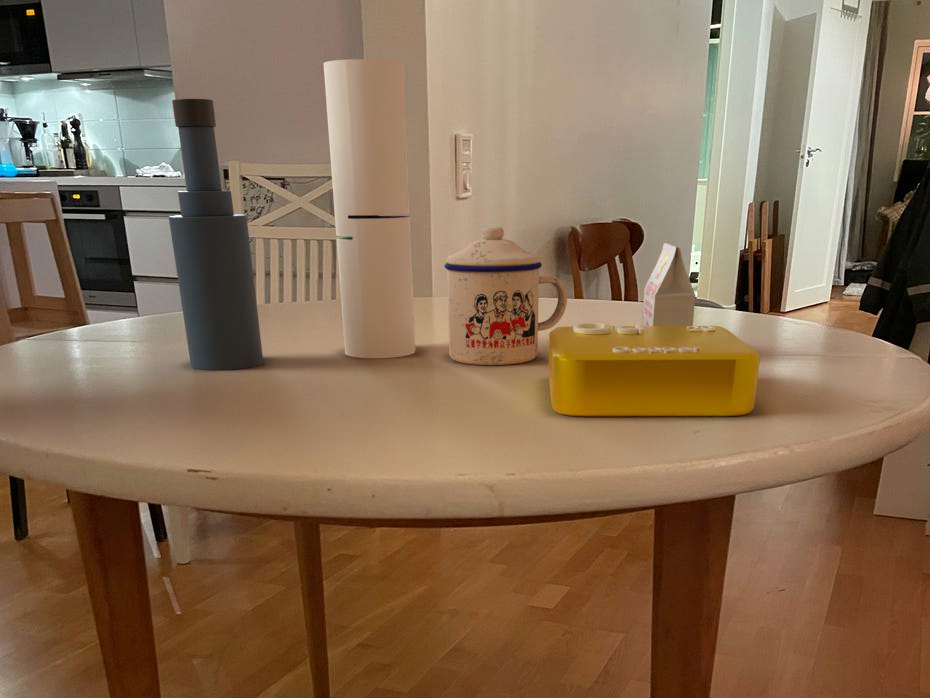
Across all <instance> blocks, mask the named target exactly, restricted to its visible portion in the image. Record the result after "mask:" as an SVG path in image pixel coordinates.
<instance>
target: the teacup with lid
mask: <svg viewBox="0 0 930 698" xmlns="http://www.w3.org/2000/svg"><path fill="white" fill-rule="evenodd" d="M504 233H505V231H504V228H503V227H501V226H485V227H484V228H482V231H481V237H482V238H483V239H477V240H475V241H471V243H469V244H468V245H467V246H466V247H464V248H463V249H462V250H460V251H457V252H456V253H453V254H450V255H449V256H447V257H446V259H445V264H444V269H446V279H447V314H448V317H447V321H448V354H449V357H450V358H451V360H453V361H454V362H458V363H461V364H465V365H466V364H467V365H475V366H506V365H515V364H516V365H518V364H524V363H527V362H530V361H533V360H534V359H535V358H537V356H538V353H539V351H538V349H539V332H541V331H546V330H549V329H552V328H553V327H555V326H556V325H557V324H558V323H559V322H560V321H561V319H562V317H563V316H564V314H565V311H566V309H567V304H568V291H567V287H566V286H565V284H564V283H563V282H562V280H561V279H560V278H557V277H555V276H553V275H546V274H545V275H544V274H543V275H540V269H541V268H542V266H543V264H542V262H541V258H540V256H539V255H538V254H536V253H532V252H530V251H527V250H526V249H523V248H522V247H521V246H520V245H519V244H517V243H516V242H515V241H512V240H510V239H505V238H504V236H505V234H504ZM540 284H541V285H542V284H551V285H552V286H554V288H555V289H556V291H557V304H556V307H555V309H554V312H553V313H552V315H550V317H549V318H548V319H545V320H543V321H541V322H539V301H540V300H539V296H540V295H539V294H540V289H539V288H540Z"/></svg>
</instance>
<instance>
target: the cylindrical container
mask: <svg viewBox="0 0 930 698" xmlns="http://www.w3.org/2000/svg"><path fill="white" fill-rule="evenodd" d="M404 64H405V63H404V62H402V61H398V60H392V59H391V60H390V59H379V58H378V59H377V58H375V59H373V58H359V59H358V58H351V59H337V60H335V59H334V60H328V61H325V62H323V75H324V76H323V77H324V90H325V101H326V115H327V128H328V141H329V142H328V143H329V155H330V169H331V182H332V197H333V211H334V223H335V236H338V237H336V248H337V264H338V265H337V266H338V277H339V289H340V301H341V302H340V303H341V316H342V329H343V343H344V344H343V345H344V355H346V356H348V357H352V358H360V359H390V358H391V359H392V358H400V357H406V356H410V355H413V354H415V353H416V333H415V332H416V331H415V329H416V328H415V309H414V308H415V306H414V287H413V286H414V284H413V283H414V282H413V281H414V280H413V260H412V257H413V256H412V238H411V237H412V234H411V216H409V214H410V213H411V211H410V188H409V185H410V184H409V163H408V162H409V161H408V141H407V140H408V138H407V113H406V112H407V111H406V91H405V90H406V89H405V88H406V87H405V66H404Z"/></svg>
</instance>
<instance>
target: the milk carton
mask: <svg viewBox="0 0 930 698" xmlns="http://www.w3.org/2000/svg"><path fill="white" fill-rule="evenodd" d="M681 249H682V248H681V246H679V245H676V244H673V243H671V242H663V245H662V248H661V251H660V254H659V256H658V259H657V261H656V264H655V265H654V267H653V270H652V271H651V273H650V275H649V277H648V279H647V281H646V282H645V285H644V288H643V298H642V299H643V302H642V315H641V317H642V318H641V326H694V317H695V316H694V314H695V303H696V293H695V291H694V288H693V285H692V283H691V280H690V278H689V275H688V272H687V270H686V267H685V263H684V260H683V257H682V250H681Z"/></svg>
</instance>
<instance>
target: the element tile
mask: <svg viewBox="0 0 930 698" xmlns="http://www.w3.org/2000/svg"><path fill="white" fill-rule="evenodd" d="M548 336H549V337H548V386H549V393H550V402H551V403H550V404H551V407H552V409H553V411H554V412H555V413H557V414H559V415H562V416H569V417H570V416H571V417H736V416H737V417H738V416H745V415H749V414H750V413H752V412H753V410H754V408H755V405H756V404H755V403H756V394H757V388H758V381H759V380H758V378H759V371H760V365H761V364H760V363H761V354H760V353H759V352H758V351H757V350H755V349H754V348H753V347H751V346H750V345H749V344H747V342H744V341H743V340H742V339H741V338H740V337H739V336H737V335H735V334H734V333H733V332H731V331H730V330H729V329H727V328H725V327H723V326H720V325H693V326H642V324H640V323H636V324H634V325H624V326H623V325H621V324H620V323H617V324H615V325H614V326H613V325H610V324H609V323H605V322H580V323H575V324H573V326H557V327H555V328H554V329H552V330H551V331H550V332H549V334H548Z"/></svg>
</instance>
